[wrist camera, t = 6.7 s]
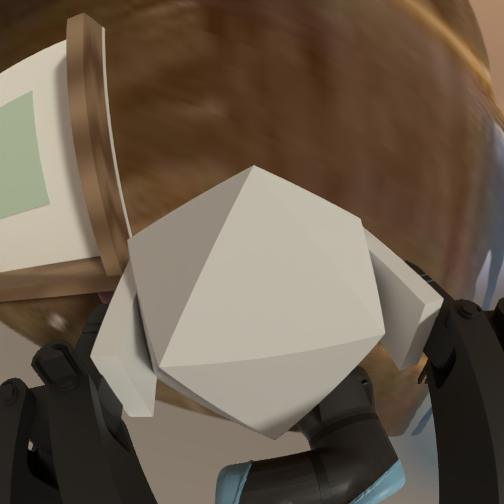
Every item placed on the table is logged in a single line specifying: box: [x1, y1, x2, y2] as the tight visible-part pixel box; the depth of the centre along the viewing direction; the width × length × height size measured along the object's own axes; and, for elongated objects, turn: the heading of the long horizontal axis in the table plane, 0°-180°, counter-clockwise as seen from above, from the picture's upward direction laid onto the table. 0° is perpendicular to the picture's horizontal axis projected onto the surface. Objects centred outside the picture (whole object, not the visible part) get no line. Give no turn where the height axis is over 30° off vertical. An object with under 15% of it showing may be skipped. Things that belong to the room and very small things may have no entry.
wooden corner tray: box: [0, 13, 132, 302], centre depth 19 cm, size 24×24×5 cm
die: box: [127, 166, 385, 440], centre depth 10 cm, size 8×9×10 cm
